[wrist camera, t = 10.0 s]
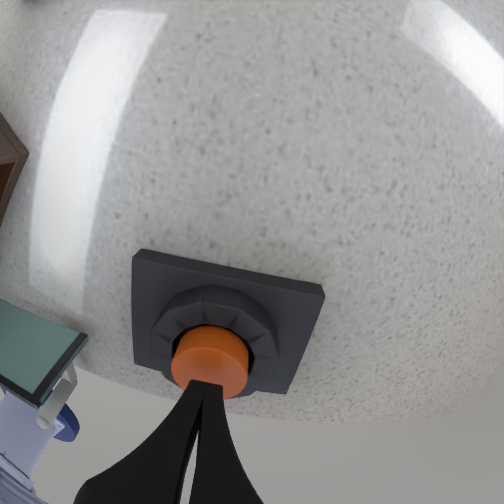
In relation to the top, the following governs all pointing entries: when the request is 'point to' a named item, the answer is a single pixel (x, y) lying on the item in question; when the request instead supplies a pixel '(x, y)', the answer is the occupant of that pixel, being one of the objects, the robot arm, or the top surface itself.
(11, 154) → the cabinet
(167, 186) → the top surface
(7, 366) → the glass door
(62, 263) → the top surface
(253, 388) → the switch block
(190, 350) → the light button
